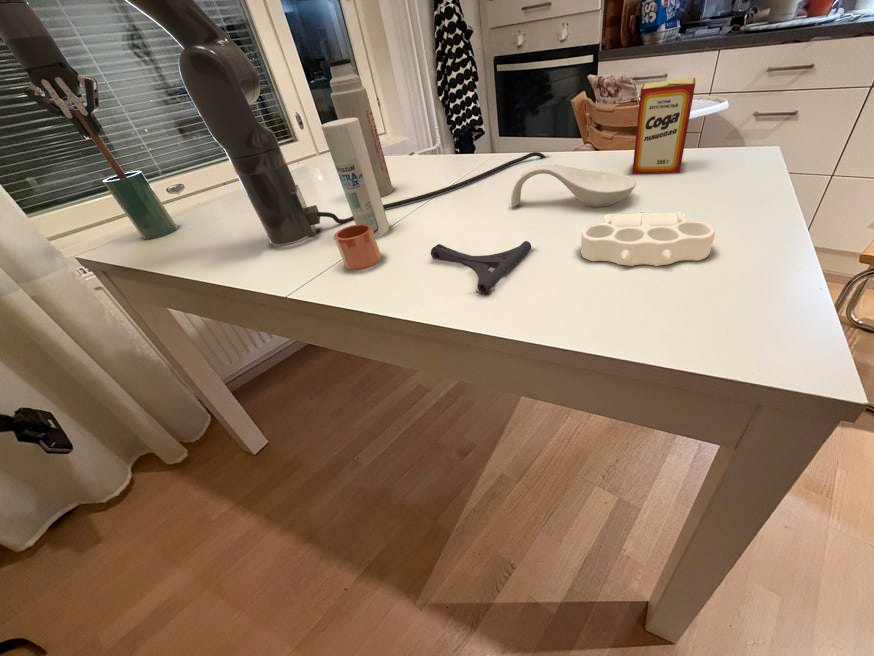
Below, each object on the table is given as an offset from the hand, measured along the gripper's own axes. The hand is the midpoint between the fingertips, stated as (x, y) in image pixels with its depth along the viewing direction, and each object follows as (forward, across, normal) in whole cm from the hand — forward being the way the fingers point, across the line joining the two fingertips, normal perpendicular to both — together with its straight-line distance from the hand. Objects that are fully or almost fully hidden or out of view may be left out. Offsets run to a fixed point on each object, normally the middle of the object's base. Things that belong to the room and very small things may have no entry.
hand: (94, 135), depth 88 cm
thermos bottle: (+23, -57, +10) cm, 62 cm away
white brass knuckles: (+23, -93, +72) cm, 120 cm away
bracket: (+23, -68, +63) cm, 95 cm away
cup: (+23, 0, 0) cm, 23 cm away
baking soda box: (+23, -117, +41) cm, 126 cm away
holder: (+23, -51, +52) cm, 76 cm away
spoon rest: (+23, -93, +48) cm, 107 cm away
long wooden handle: (+17, 0, 0) cm, 17 cm away
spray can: (+23, -54, +38) cm, 70 cm away
